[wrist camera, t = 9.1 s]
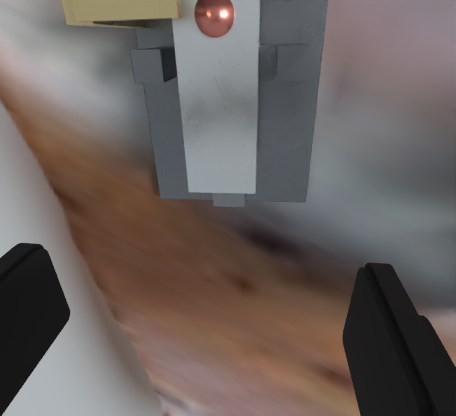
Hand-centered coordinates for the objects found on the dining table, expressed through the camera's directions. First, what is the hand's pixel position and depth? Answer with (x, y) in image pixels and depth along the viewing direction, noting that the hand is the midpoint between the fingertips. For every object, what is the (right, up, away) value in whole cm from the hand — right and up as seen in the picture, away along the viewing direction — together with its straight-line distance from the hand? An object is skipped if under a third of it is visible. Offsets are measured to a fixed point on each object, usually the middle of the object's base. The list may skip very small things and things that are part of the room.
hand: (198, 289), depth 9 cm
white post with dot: (+1, +11, +9) cm, 15 cm away
